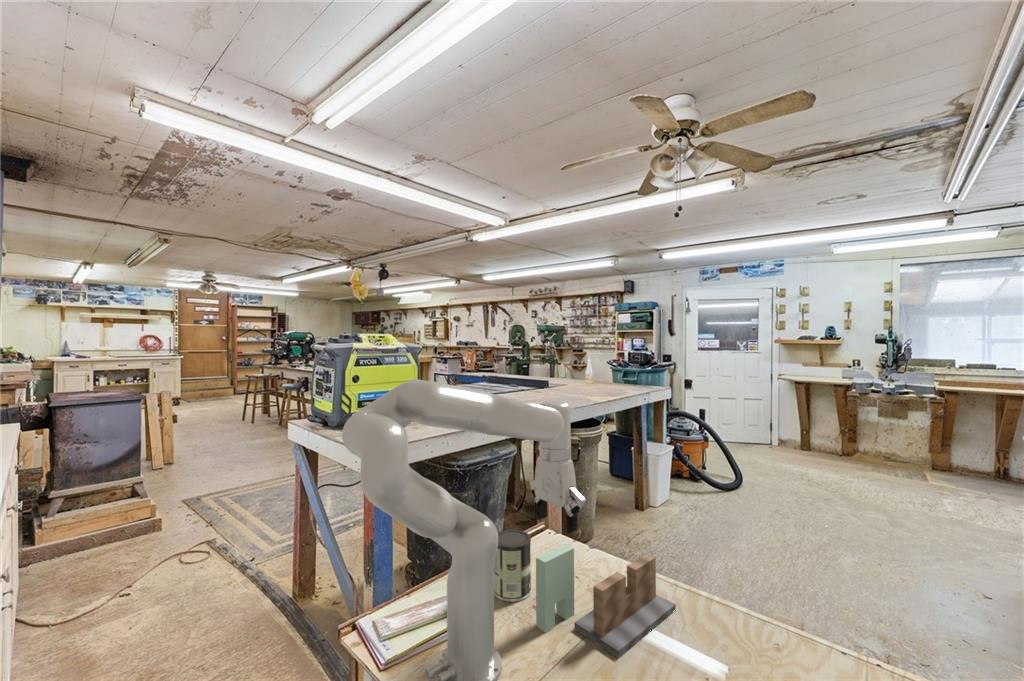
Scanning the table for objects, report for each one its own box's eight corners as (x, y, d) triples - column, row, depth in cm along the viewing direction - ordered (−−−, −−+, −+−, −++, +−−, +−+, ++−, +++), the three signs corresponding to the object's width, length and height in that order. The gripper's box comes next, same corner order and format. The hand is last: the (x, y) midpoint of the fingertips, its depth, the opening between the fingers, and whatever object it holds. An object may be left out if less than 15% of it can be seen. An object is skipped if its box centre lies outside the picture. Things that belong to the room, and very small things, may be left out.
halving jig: (618, 658, 87) (618, 603, 87) (574, 628, 96) (574, 578, 96) (675, 610, 103) (675, 563, 103) (633, 588, 112) (632, 545, 112)
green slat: (574, 614, 101) (573, 548, 102) (545, 632, 95) (545, 562, 95) (565, 608, 104) (564, 543, 104) (536, 626, 97) (535, 557, 97)
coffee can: (520, 576, 118) (520, 526, 118) (538, 596, 109) (537, 542, 109) (487, 585, 114) (486, 533, 114) (501, 606, 105) (501, 550, 105)
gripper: (519, 449, 104) (520, 517, 104) (572, 464, 91) (573, 542, 91) (540, 444, 109) (542, 509, 109) (593, 457, 96) (595, 531, 96)
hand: (556, 524), depth 100 cm, fingers open, 9 cm apart
